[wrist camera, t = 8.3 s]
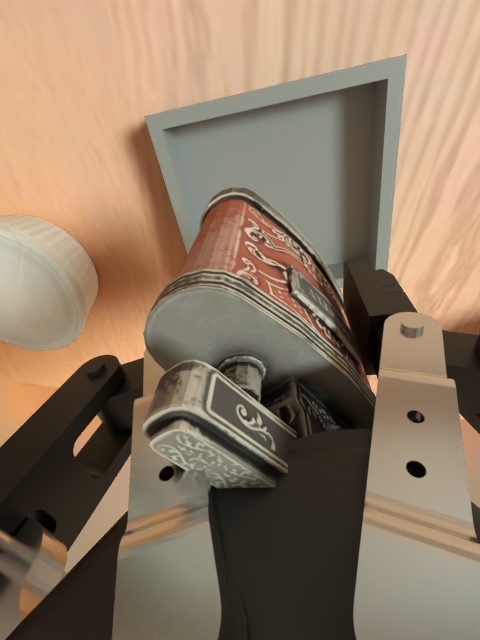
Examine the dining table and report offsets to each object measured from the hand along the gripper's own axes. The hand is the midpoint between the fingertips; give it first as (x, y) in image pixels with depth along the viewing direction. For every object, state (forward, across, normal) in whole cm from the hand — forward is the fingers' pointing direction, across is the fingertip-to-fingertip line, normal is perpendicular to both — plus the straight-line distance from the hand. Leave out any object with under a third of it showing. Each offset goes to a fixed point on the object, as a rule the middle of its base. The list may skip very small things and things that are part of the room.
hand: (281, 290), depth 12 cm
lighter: (+2, 0, 0) cm, 2 cm away
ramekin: (+14, +21, +3) cm, 25 cm away
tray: (+13, 0, 0) cm, 13 cm away
